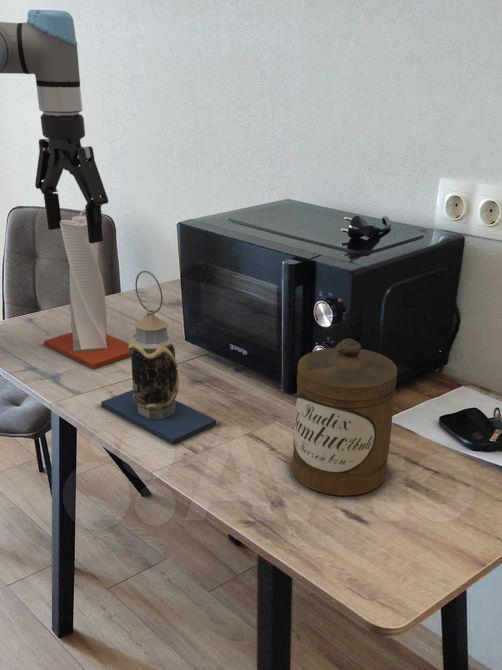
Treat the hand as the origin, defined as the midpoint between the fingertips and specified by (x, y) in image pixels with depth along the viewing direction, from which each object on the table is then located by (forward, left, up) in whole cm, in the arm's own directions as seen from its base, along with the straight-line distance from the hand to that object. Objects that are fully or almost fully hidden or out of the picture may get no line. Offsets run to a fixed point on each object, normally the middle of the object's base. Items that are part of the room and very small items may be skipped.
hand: (75, 235), depth 137 cm
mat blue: (+33, -9, -24) cm, 42 cm away
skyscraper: (0, +1, -24) cm, 24 cm away
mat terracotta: (-1, +1, -24) cm, 24 cm away
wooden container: (+68, -1, -25) cm, 72 cm away
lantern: (+33, -9, -24) cm, 41 cm away
